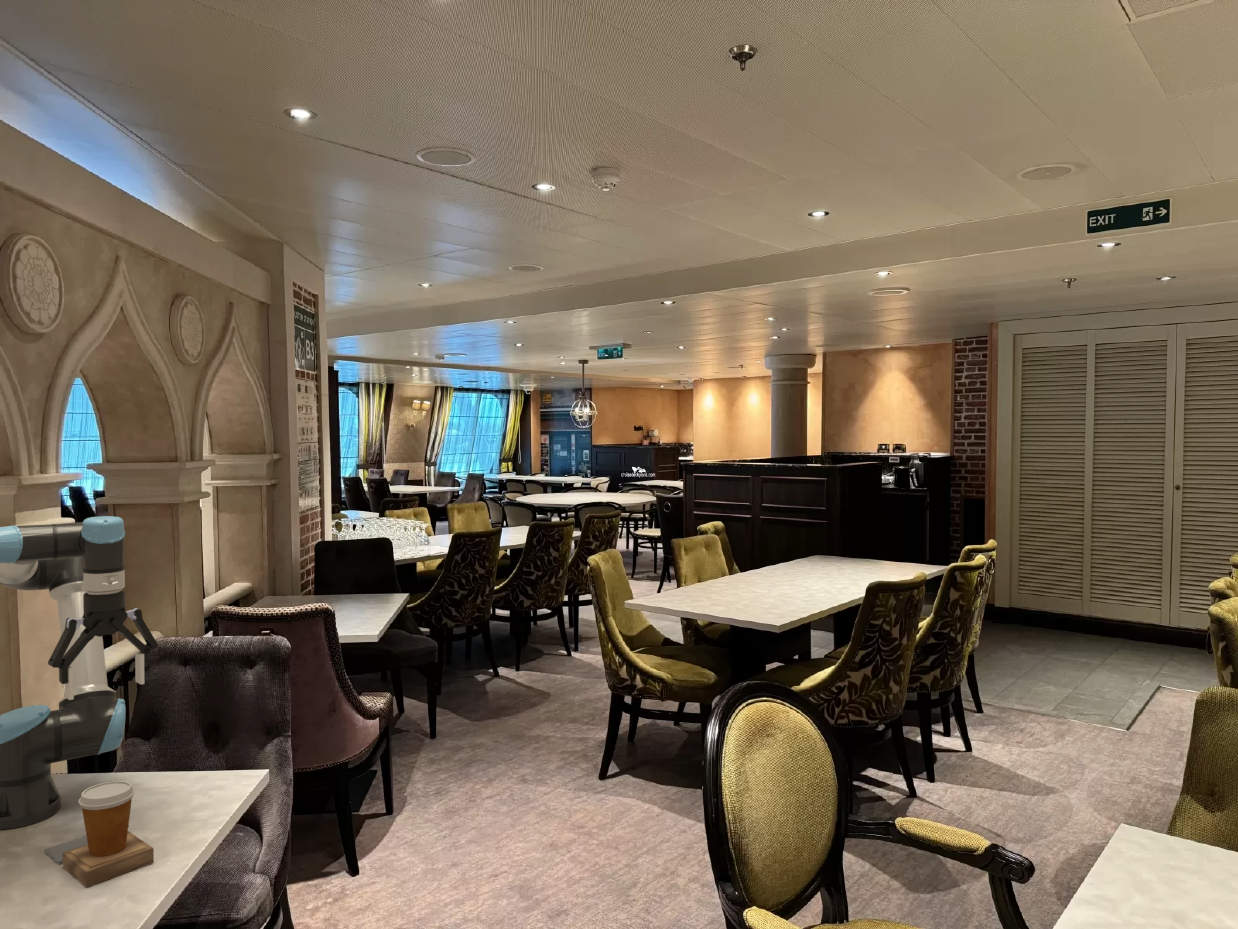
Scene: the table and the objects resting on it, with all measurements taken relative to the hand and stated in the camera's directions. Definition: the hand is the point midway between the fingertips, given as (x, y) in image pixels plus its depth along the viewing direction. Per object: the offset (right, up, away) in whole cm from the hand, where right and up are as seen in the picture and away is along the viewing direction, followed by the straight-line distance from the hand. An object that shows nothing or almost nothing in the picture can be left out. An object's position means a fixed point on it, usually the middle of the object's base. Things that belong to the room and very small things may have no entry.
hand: (105, 690), depth 179 cm
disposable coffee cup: (+7, -29, -11) cm, 32 cm away
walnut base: (+7, -32, -10) cm, 34 cm away
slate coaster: (-4, -32, -5) cm, 32 cm away
